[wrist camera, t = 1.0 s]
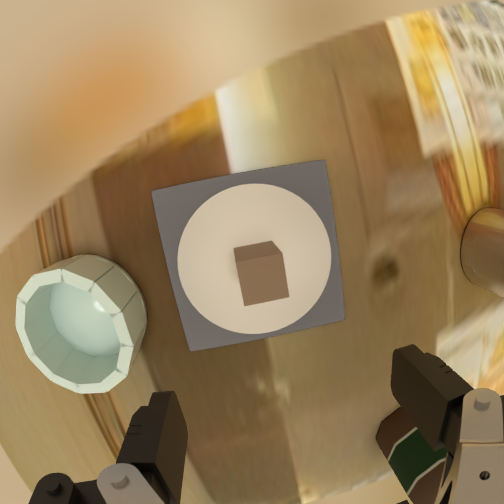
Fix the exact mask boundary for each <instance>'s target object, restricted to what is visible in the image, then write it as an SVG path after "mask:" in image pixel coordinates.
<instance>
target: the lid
mask: <svg viewBox="0 0 504 504" xmlns="http://www.w3.org/2000/svg"><path fill="white" fill-rule="evenodd" d="M177 260H178V272H179V278H180V281H181V284H182V287H183V289H184V291H185V294H186V296H187V297H188V299H189V300H190V302H191V303H192V305H193V306H194V307H195V308H196V309H197V311H198V312H199V313H201V314H202V315H203V316H204V317H205V318H206V319H208V320H209V321H211V322H212V323H214V324H216V325H218V326H220V327H221V328H224V329H227V330H230V331H233V332H238V333H245V334H261V333H268V332H272V331H276V330H279V329H281V328H284V327H286V326H288V325H290V324H292V323H294V322H295V321H297V320H298V319H300V318H301V317H302V316H304V315H305V314H306V313H307V312H308V311H309V310H310V309H311V308H312V307H313V305H314V304H315V303H316V302H317V300H318V299H319V297H320V296H321V294H322V292H323V290H324V288H325V286H326V283H327V280H328V277H329V273H330V268H331V247H330V242H329V237H328V234H327V231H326V229H325V227H324V225H323V223H322V221H321V219H320V218H319V216H318V215H317V213H316V212H315V211H314V210H313V208H312V207H311V206H310V205H309V204H308V203H306V202H305V201H304V200H303V199H302V198H300V197H299V196H297V195H296V194H294V193H292V192H290V191H288V190H286V189H284V188H280V187H277V186H274V185H268V184H244V185H238V186H234V187H231V188H228V189H226V190H223V191H221V192H219V193H217V194H216V195H214V196H212V197H211V198H210V199H208V200H207V201H206V202H204V203H203V204H202V205H201V206H200V207H199V208H198V209H197V210H196V212H195V213H194V214H193V216H192V217H191V218H190V220H189V221H188V223H187V225H186V227H185V229H184V231H183V234H182V236H181V239H180V244H179V248H178V257H177Z"/></svg>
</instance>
